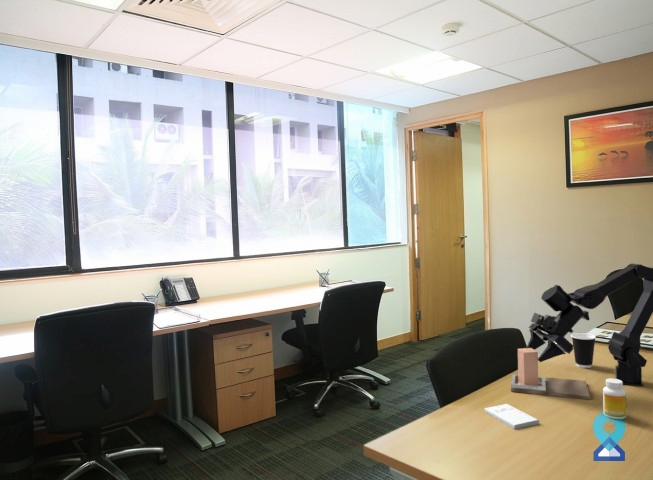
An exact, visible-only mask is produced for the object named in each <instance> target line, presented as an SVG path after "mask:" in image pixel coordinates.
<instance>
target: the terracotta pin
mask: <svg viewBox="0 0 653 480" xmlns="http://www.w3.org/2000/svg"><path fill="white" fill-rule="evenodd" d="M538 358H539V352H538V350H536V349H535V350H534V349H532V348H527V347H524V348H517V375H518V382H519V383H520V384H525V385H536V386H538V376H539V361H538Z"/></svg>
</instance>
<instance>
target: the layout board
mask: <svg viewBox="0 0 653 480" xmlns="http://www.w3.org/2000/svg"><path fill="white" fill-rule="evenodd" d="M511 375H512V376H511V381H510V391H511V392H512V393H520V394H521V393H522V394H530V395H541V396H551V397H562V398H570V399H572V398H573V399H579V400H580V399H581V400H582V399H583V400H591V395H590V391H589V387H588V384H587V381H586V380H582V379H581V380H579V379H571V378H558V377H545V376H539V375H538V386H536V385H525V384H520V383H519V382H518V374H515V373H513V374H511Z"/></svg>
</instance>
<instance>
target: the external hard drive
mask: <svg viewBox="0 0 653 480" xmlns="http://www.w3.org/2000/svg"><path fill="white" fill-rule="evenodd" d="M483 410H484V411H483V412H484V413H485V414H487V413H488V414H487V415H489V416H490V417H492V416H493V418H495V419H496V420H498V421H499V422H501V423H503V424H504V425H506V426H508V427H510V428H511V429H513V430H518V429H521V428H526V427H531V426H535V425H539V424H540V420H539V419H537V418H535V417H534V416H531V415H530V414H528V413H526V412H525V411H524V412H523V411H522V410H520V409H518V408H516V407H514V406H512V405H510V404H508V403H504V404H499V405H494V406H489V407H484V409H483Z"/></svg>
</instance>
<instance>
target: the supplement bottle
mask: <svg viewBox="0 0 653 480" xmlns="http://www.w3.org/2000/svg"><path fill="white" fill-rule="evenodd" d="M605 385H606V386H604V387H603V388H602V411H603V412H602V413H603V415H604V416H605V417H607V418H609V419H613V420H623V419H625V418H627V399H626V398H627V397H626V396H627V391H626V390H625V389H624V387H623V386H624V384H623V382H622V381H621V380H618V379H616V378H610V377H609V378H606V379H605Z"/></svg>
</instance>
